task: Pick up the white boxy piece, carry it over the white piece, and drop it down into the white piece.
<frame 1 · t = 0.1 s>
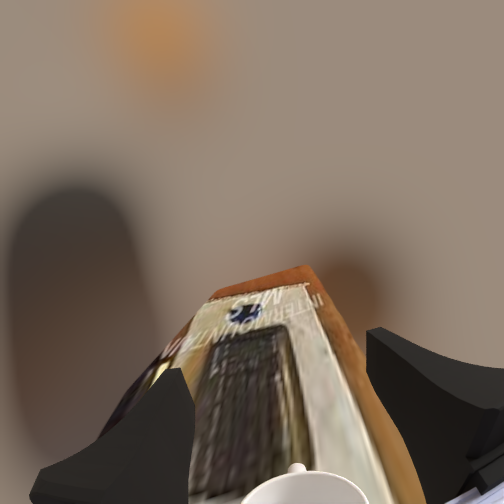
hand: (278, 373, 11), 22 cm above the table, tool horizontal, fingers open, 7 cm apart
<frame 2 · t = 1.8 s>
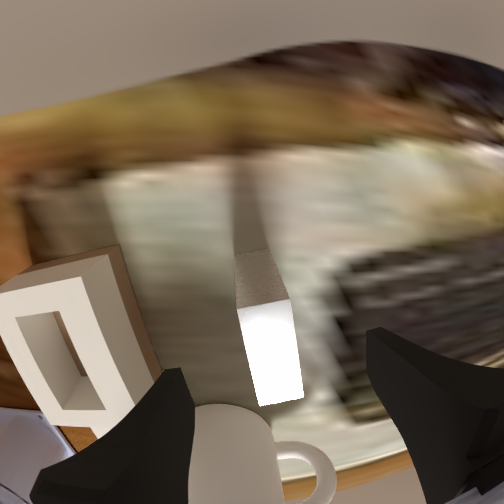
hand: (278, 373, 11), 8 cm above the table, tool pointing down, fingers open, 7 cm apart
white boxy piece: (259, 291, 19), on the table
white piece: (93, 320, 19), on the table
mug: (243, 431, 23), on the table
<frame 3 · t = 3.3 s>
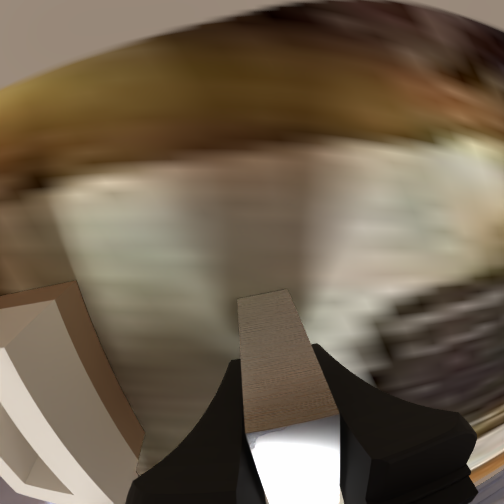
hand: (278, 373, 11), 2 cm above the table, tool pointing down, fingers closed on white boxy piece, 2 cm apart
white boxy piece: (272, 346, 13), on the table, touching gripper
white piece: (55, 372, 13), on the table
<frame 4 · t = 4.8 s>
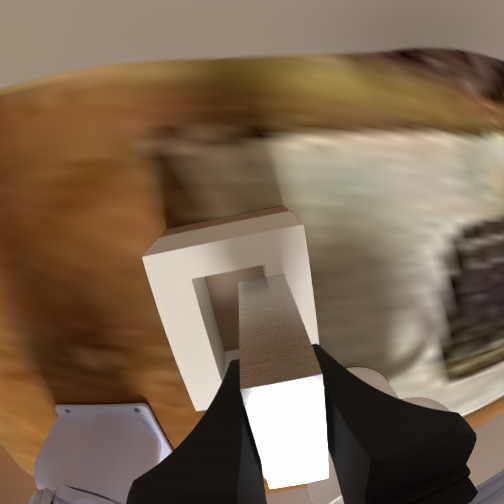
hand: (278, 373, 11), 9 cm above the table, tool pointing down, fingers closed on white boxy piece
white boxy piece: (270, 327, 15), point 5 cm above the table, touching gripper
white piece: (239, 288, 20), on the table
mug: (361, 396, 24), on the table
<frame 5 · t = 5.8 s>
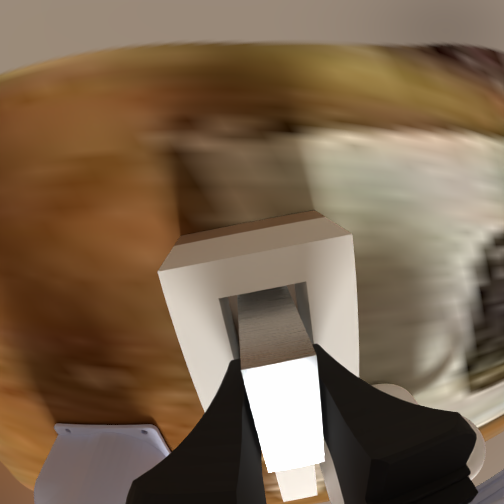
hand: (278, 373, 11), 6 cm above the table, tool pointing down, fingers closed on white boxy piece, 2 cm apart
white boxy piece: (266, 321, 15), point 2 cm above the table, touching gripper
white piece: (262, 302, 18), on the table
mug: (384, 412, 21), on the table
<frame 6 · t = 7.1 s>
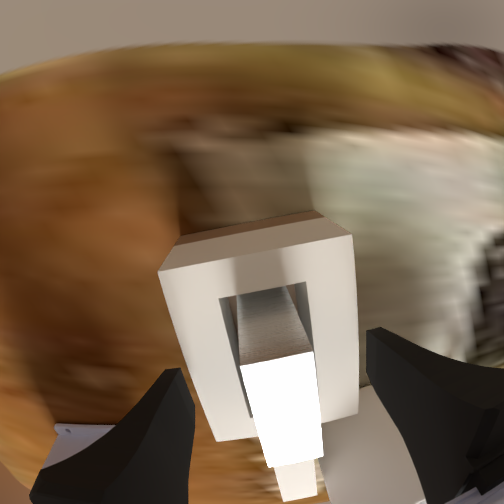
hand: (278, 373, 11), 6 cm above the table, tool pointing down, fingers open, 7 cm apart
white boxy piece: (266, 318, 16), point 2 cm above the table, touching white piece
white piece: (262, 302, 18), on the table
mug: (384, 412, 21), on the table
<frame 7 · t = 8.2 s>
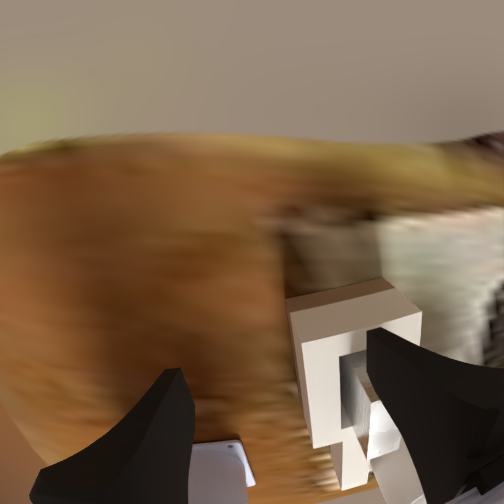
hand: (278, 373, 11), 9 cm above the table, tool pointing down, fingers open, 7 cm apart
white boxy piece: (348, 358, 20), point 2 cm above the table, touching white piece
white piece: (339, 343, 22), on the table
mug: (413, 416, 26), on the table
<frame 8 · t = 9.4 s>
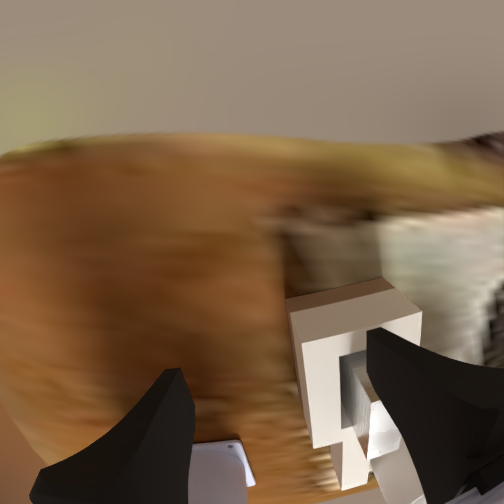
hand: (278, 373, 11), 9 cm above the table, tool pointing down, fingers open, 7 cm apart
white boxy piece: (348, 358, 20), point 2 cm above the table, touching white piece
white piece: (339, 343, 22), on the table
mug: (413, 416, 26), on the table
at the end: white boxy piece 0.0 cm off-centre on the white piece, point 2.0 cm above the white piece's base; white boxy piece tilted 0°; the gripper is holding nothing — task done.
